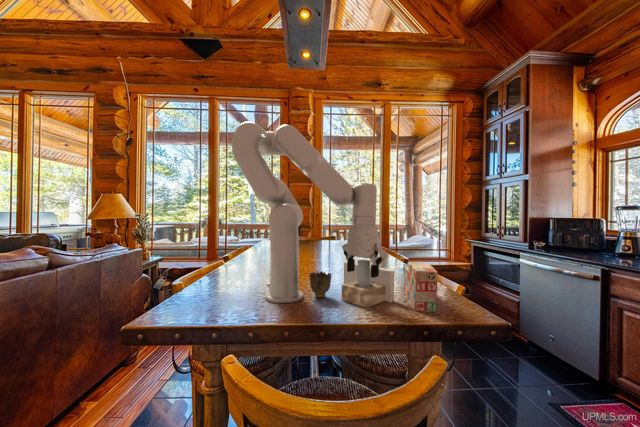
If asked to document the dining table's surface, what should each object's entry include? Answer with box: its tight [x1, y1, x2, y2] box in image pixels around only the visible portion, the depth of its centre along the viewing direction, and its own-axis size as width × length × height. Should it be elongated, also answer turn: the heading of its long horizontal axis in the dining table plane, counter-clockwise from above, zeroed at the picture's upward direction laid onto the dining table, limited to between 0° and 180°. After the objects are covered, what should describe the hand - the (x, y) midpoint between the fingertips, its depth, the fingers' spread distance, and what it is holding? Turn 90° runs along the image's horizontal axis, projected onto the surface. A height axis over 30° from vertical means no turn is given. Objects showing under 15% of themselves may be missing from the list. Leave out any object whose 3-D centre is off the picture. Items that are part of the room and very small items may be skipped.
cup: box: [308, 270, 332, 299], centre depth 97 cm, size 8×7×8 cm
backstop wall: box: [343, 261, 395, 303], centre depth 100 cm, size 20×2×10 cm, turn 44°
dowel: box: [357, 259, 371, 288], centre depth 94 cm, size 4×4×12 cm
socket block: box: [341, 281, 386, 309], centre depth 94 cm, size 10×10×5 cm
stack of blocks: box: [403, 262, 439, 313], centre depth 95 cm, size 21×6×12 cm, turn 173°
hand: (362, 274), depth 94 cm, fingers open, 9 cm apart
